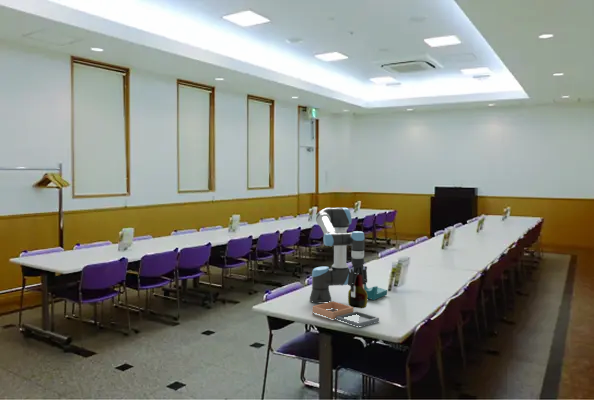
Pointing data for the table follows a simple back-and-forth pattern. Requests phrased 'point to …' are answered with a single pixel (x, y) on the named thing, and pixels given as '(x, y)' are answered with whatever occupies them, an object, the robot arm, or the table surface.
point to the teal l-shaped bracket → (375, 292)
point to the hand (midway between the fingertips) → (357, 295)
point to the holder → (341, 307)
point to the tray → (363, 318)
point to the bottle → (358, 294)
